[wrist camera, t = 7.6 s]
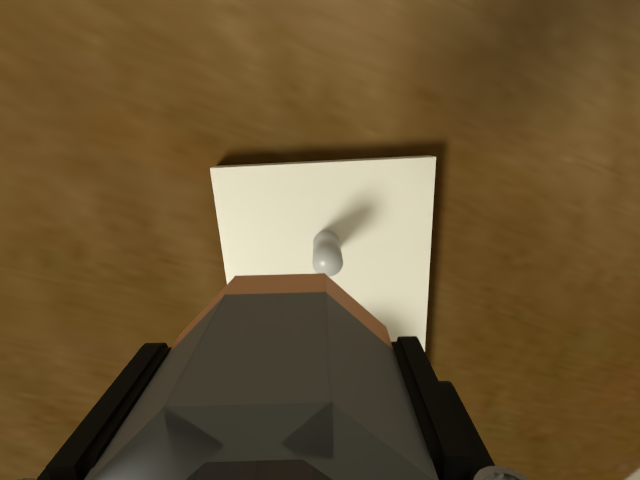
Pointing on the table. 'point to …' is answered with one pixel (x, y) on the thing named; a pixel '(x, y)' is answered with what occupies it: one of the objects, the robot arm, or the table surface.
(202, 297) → the table surface
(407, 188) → the pin board
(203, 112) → the table surface
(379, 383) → the sleeve
